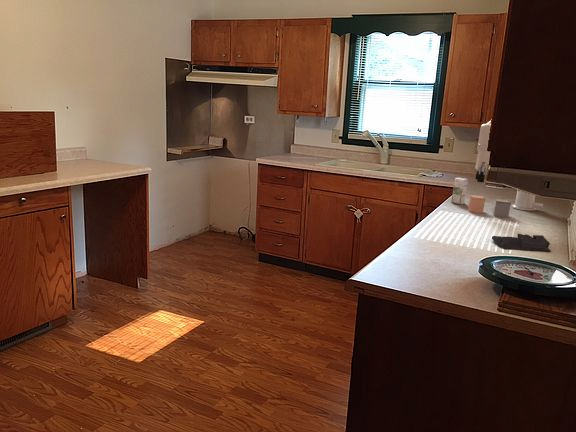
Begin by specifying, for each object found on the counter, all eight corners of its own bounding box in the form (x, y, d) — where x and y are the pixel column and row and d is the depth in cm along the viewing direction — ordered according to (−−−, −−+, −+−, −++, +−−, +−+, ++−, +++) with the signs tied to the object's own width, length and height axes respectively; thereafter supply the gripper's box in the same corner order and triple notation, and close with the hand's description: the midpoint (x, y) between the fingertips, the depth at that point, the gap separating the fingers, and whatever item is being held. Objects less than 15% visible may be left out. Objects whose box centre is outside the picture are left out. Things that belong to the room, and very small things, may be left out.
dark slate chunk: (486, 239, 216) (488, 229, 215) (537, 242, 216) (539, 232, 215) (501, 250, 201) (503, 239, 200) (555, 253, 202) (557, 242, 200)
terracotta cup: (481, 210, 271) (483, 196, 269) (482, 213, 264) (485, 198, 263) (467, 209, 273) (470, 194, 271) (468, 211, 266) (471, 197, 264)
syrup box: (464, 203, 288) (468, 178, 284) (460, 204, 284) (464, 179, 280) (455, 201, 291) (459, 177, 288) (450, 202, 287) (454, 177, 284)
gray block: (506, 215, 264) (508, 200, 262) (508, 217, 258) (510, 202, 256) (492, 213, 266) (494, 198, 264) (493, 216, 260) (496, 201, 258)
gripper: (475, 146, 269) (470, 177, 273) (478, 148, 253) (473, 182, 257) (490, 147, 268) (485, 179, 272) (494, 150, 251) (488, 184, 255)
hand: (479, 180), depth 264 cm, fingers open, 9 cm apart
